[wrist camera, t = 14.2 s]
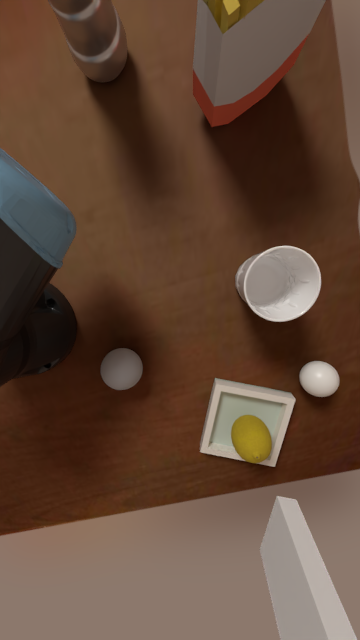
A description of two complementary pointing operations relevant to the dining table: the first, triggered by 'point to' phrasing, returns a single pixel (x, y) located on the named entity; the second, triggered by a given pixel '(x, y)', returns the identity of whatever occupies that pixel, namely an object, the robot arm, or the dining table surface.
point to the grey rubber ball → (121, 369)
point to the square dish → (244, 400)
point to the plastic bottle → (93, 36)
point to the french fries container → (246, 51)
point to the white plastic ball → (319, 378)
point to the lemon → (251, 438)
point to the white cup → (279, 283)
